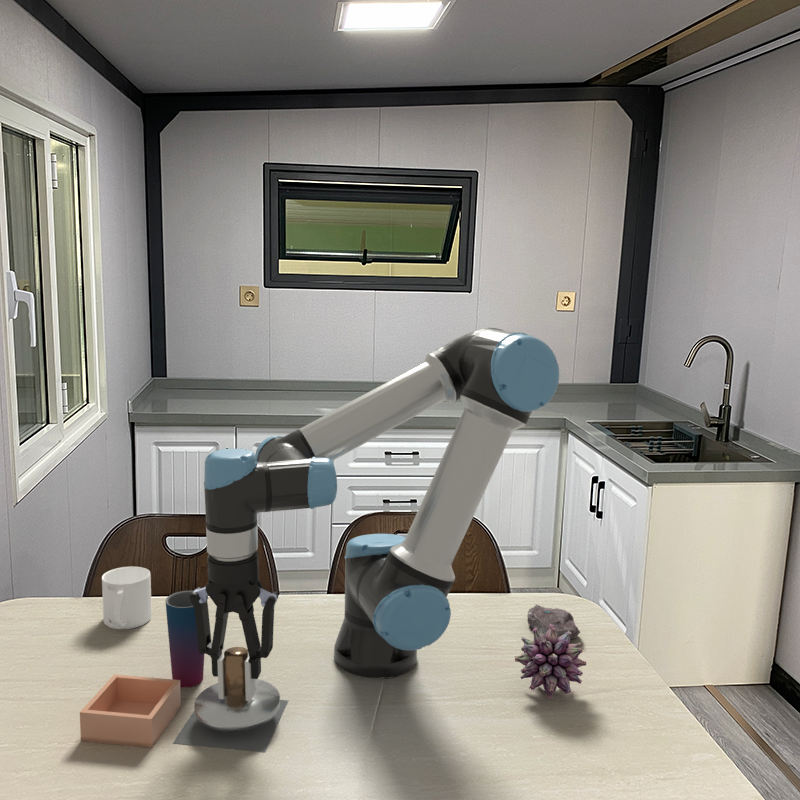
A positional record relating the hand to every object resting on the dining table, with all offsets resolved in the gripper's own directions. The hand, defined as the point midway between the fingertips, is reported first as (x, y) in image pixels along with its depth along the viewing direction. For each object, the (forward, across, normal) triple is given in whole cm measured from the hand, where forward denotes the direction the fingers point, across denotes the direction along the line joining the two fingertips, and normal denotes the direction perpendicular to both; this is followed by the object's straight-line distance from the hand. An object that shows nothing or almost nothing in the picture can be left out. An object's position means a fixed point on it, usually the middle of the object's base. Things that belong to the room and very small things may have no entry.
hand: (237, 695), depth 123 cm
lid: (+2, 0, 0) cm, 2 cm away
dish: (+4, +16, +3) cm, 17 cm away
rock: (+7, -52, -40) cm, 66 cm away
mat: (+5, +1, 0) cm, 5 cm away
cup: (+5, +12, -10) cm, 17 cm away
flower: (+6, -49, -16) cm, 52 cm away
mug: (+4, +32, -30) cm, 44 cm away
